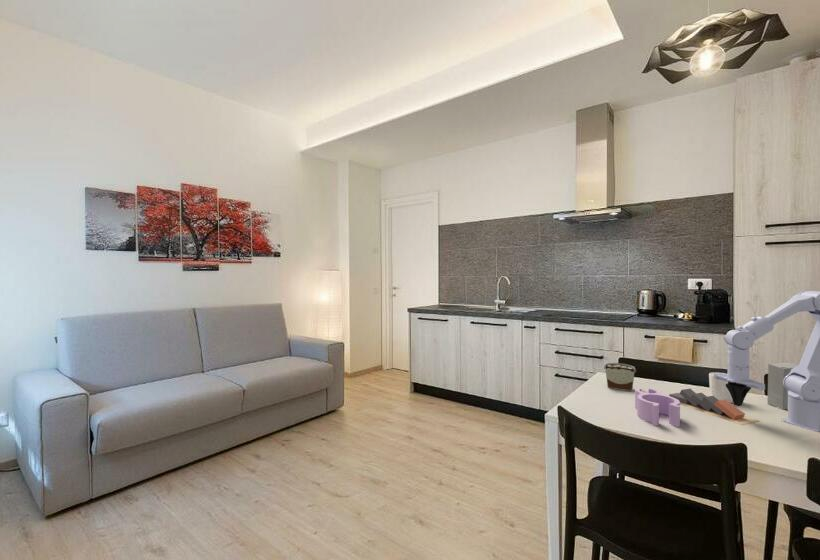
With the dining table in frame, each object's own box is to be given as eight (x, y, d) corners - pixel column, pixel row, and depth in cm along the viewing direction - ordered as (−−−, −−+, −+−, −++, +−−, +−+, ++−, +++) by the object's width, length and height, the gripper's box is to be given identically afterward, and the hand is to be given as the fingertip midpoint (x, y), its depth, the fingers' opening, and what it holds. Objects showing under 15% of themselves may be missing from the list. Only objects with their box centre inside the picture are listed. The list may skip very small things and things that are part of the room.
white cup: (725, 397, 156) (725, 372, 156) (739, 404, 149) (740, 378, 148) (704, 397, 157) (704, 372, 157) (717, 403, 149) (717, 377, 149)
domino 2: (706, 402, 146) (690, 388, 152) (697, 403, 144) (681, 389, 150) (704, 405, 147) (687, 391, 153) (695, 407, 145) (679, 393, 151)
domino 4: (731, 409, 138) (713, 395, 144) (722, 411, 136) (704, 397, 142) (729, 413, 139) (710, 399, 145) (720, 415, 137) (701, 400, 143)
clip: (626, 405, 150) (626, 387, 150) (662, 407, 148) (662, 388, 147) (646, 425, 131) (646, 405, 130) (688, 428, 128) (688, 407, 128)
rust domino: (745, 414, 134) (725, 399, 140) (736, 415, 132) (716, 401, 138) (742, 417, 135) (723, 403, 140) (733, 419, 133) (714, 404, 139)
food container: (636, 387, 171) (636, 364, 171) (636, 391, 166) (636, 367, 165) (605, 383, 177) (605, 361, 177) (603, 387, 172) (603, 364, 172)
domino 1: (695, 398, 150) (677, 392, 156) (686, 399, 148) (669, 394, 155) (695, 402, 150) (677, 397, 157) (686, 404, 148) (669, 398, 155)
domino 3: (719, 406, 142) (701, 392, 148) (710, 407, 140) (692, 394, 146) (717, 409, 142) (699, 396, 148) (708, 411, 141) (690, 397, 147)
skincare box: (787, 403, 149) (787, 361, 148) (806, 410, 142) (807, 366, 141) (765, 403, 148) (765, 362, 148) (784, 410, 141) (784, 367, 141)
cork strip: (760, 422, 132) (760, 421, 132) (742, 425, 129) (742, 424, 129) (684, 398, 156) (684, 397, 156) (667, 400, 153) (667, 400, 153)
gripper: (707, 362, 139) (707, 400, 139) (755, 372, 125) (754, 414, 126) (721, 360, 141) (721, 397, 142) (769, 369, 128) (769, 411, 128)
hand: (738, 405), depth 134 cm, fingers closed
